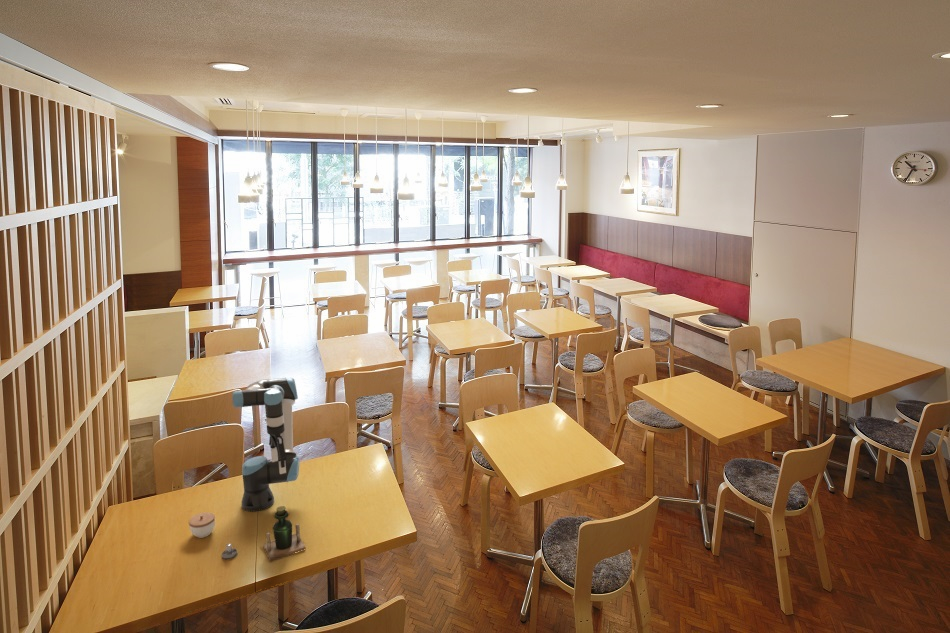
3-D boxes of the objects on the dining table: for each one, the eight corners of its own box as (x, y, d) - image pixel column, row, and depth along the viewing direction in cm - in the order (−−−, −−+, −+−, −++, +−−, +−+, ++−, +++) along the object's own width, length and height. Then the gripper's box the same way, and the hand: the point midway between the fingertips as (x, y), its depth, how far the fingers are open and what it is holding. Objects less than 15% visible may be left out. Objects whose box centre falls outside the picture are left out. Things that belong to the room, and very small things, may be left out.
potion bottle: (278, 539, 258) (275, 503, 254) (296, 539, 258) (293, 503, 254) (271, 551, 250) (268, 513, 246) (290, 551, 250) (287, 513, 246)
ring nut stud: (221, 553, 251) (219, 543, 250) (235, 549, 254) (234, 539, 253) (223, 561, 246) (222, 550, 245) (238, 556, 249) (237, 546, 248)
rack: (263, 547, 255) (261, 527, 253) (297, 536, 263) (296, 517, 261) (270, 561, 246) (268, 541, 243) (305, 549, 253) (304, 530, 251)
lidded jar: (190, 543, 258) (188, 524, 256) (190, 530, 267) (187, 512, 265) (217, 536, 263) (215, 518, 261) (215, 524, 272) (213, 506, 270)
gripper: (260, 416, 270) (263, 458, 275) (274, 435, 250) (277, 480, 255) (276, 413, 274) (279, 454, 279) (291, 431, 254) (294, 476, 259)
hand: (278, 467), depth 267 cm, fingers open, 13 cm apart
